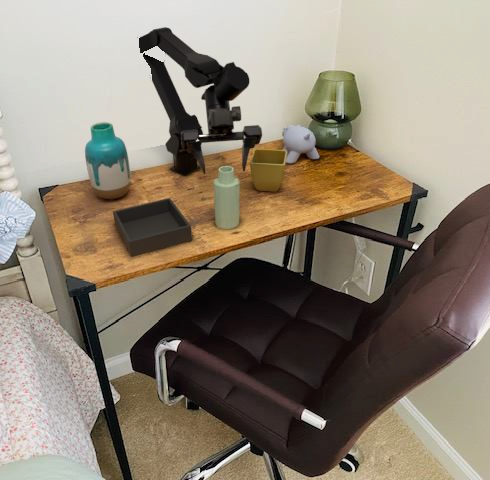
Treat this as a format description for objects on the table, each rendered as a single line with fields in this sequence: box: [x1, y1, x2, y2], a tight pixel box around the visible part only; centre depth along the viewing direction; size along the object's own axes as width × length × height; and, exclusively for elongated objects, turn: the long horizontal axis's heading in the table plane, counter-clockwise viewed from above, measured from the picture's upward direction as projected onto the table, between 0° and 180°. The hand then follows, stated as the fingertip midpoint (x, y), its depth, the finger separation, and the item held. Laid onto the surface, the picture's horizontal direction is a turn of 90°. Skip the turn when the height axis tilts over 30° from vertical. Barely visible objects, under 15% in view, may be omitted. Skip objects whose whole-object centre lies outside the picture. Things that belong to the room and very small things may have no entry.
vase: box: [84, 121, 132, 200], centre depth 124 cm, size 11×11×19 cm
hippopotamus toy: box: [281, 124, 320, 164], centre depth 143 cm, size 11×15×10 cm
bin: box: [112, 197, 193, 258], centre depth 112 cm, size 14×14×4 cm
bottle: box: [213, 165, 240, 230], centre depth 112 cm, size 6×6×14 cm
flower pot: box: [249, 148, 287, 193], centre depth 127 cm, size 9×9×9 cm
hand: (224, 172), depth 114 cm, fingers open, 9 cm apart
